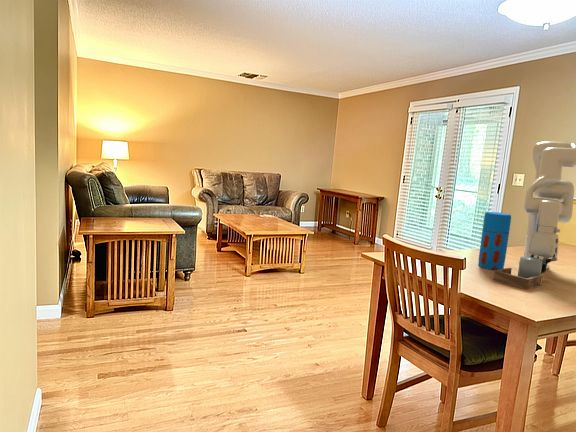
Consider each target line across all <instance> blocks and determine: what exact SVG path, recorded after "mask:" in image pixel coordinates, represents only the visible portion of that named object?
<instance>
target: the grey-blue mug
mask: <svg viewBox="0 0 576 432" xmlns="http://www.w3.org/2000/svg"><path fill="white" fill-rule="evenodd" d="M519 260H520V263H519V262H518V264H519V265H518V271H517V276H519V277H522V278H530V277H534V276H539V275H540V276H542V275H541V274H542V273H541V269H542V262H543V259H538V258H533V257H523V256H520V258H519Z"/></svg>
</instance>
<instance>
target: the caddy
mask: <svg viewBox="0 0 576 432" xmlns="http://www.w3.org/2000/svg"><path fill="white" fill-rule="evenodd" d="M512 269H513V268H512V267H505V268H503V269H500V270H493V277H492V281H495V282H498V283H501V284H505V285H509V286H513V287H516V288H519V289H522V290H530V289H533V288H538V287H541V286H542V281H543V275H539V276H534V277H530V278H522V277H519V276H518V275H514V274H512Z"/></svg>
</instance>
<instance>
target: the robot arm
mask: <svg viewBox="0 0 576 432" xmlns="http://www.w3.org/2000/svg"><path fill="white" fill-rule="evenodd" d="M532 161H533V165H534V168H535V177H534V179H535V180H534V181H533V182H531V183H530V184H529V186H528V187H527V189H526V191H525V196H524V204H523V205H524V206H523V207H524V209H523V210H524V212H525V213H526V214H527V215H528V217H527V218H528V221H527V229H526V237H525V243H524V249H523V256H522V257H533V258H538V259H543V262H542V269H541V274H545V272H546V270H547V269H549V267H550V265H549V263H551V262H558V260H559V259H558V254H559V234H557V233H560V232H561V229H560V228H558V223H563V224H565V223H569V222H571V220H572V217H573V210H574V198H575V197H574V196H575V186H574V183H573V182H572V181H570V180H565V179H562V169H563V168H564V167H565V168H574V167H576V143H575V142H568V141H566V142H565V141H541V142H540V141H538V142H536V143H535V144H534V145H533V148H532ZM533 194H534V196H535V197H534V196H533ZM519 263H520V259H519V260H518V264H519Z"/></svg>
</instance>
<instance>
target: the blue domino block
mask: <svg viewBox="0 0 576 432" xmlns="http://www.w3.org/2000/svg"><path fill="white" fill-rule="evenodd" d="M483 217H484V218H483V224H482V230H481V231H482V232H481V239H480V246H479V252H478V253H479V255H478V262H477V263H478V267H480V268H483V269H487V270H491V271H495V270H500V269H505V268H504V267H505V264H506V263H505V262H506V256H507V250H508V249H507V248H508V243H509V237H510V229H511V222H512V214H509V213H504V212H498V211H485V213H484V215H483Z"/></svg>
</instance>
